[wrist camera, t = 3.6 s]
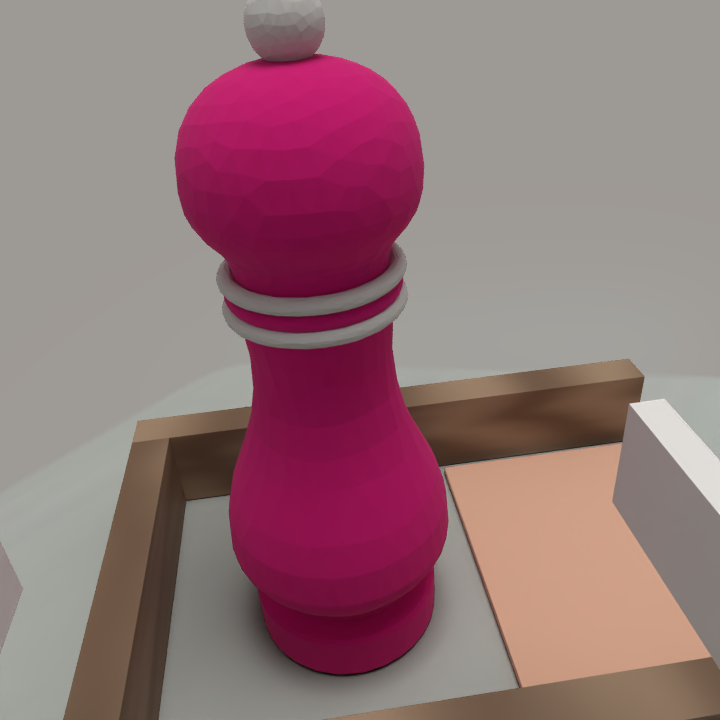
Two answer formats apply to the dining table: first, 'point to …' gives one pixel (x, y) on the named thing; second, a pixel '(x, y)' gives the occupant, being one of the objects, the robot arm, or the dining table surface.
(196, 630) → the dining table surface
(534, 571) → the front pad
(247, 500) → the pepper mill
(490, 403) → the shallow wooden tray
